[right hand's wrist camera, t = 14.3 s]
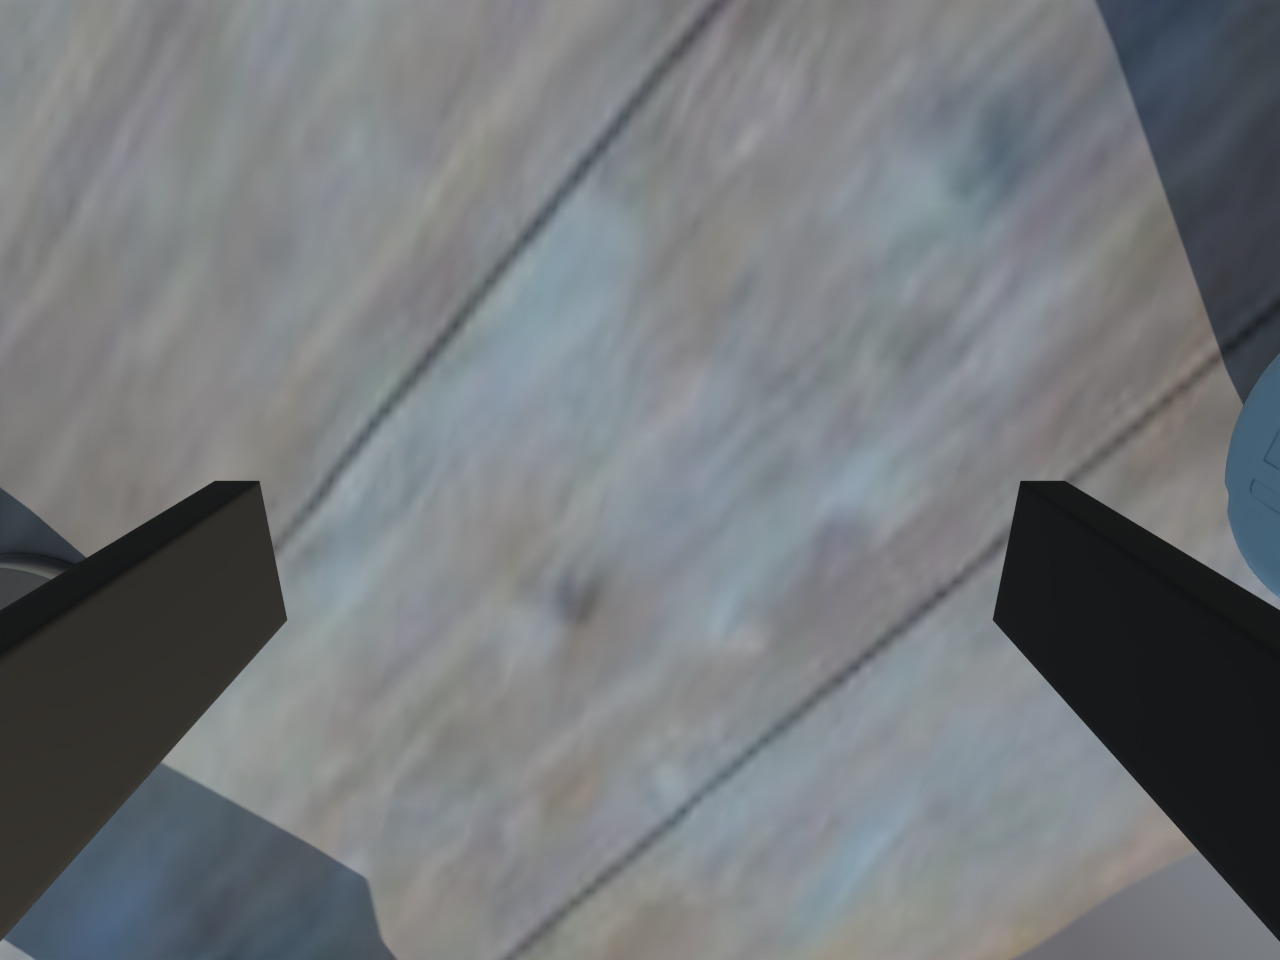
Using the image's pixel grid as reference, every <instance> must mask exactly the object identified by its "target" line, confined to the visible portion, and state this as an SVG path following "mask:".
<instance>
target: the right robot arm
mask: <svg viewBox="0 0 1280 960" xmlns="http://www.w3.org/2000/svg"><path fill="white" fill-rule="evenodd" d="M286 621H287V616H286V611H285V606H284V601H283V596H282V591H281V586H280V581H279V576H278V571H277V566H276V561H275V556H274V551H273V546H272V541H271V536H270V531H269V526H268V521H267V516H266V511H265V506H264V501H263V496H262V491H261V486H260V481H214V482H212V483H211V484H209V485H207V486H206V487H204V488H202V489H201V490H199V491H197V492H196V493H194V494H192V495H191V496H189V497H187V498H186V499H184V500H182V501H181V502H179V503H178V504H176V505H174V506H173V507H171V508H169V509H168V510H166V511H164V512H163V513H161V514H159V515H158V516H156V517H154V518H153V519H151V520H149V521H148V522H146V523H144V524H143V525H141V526H139V527H138V528H136V529H134V530H133V531H131V532H129V533H128V534H126V535H124V536H123V537H121V538H119V539H118V540H116V541H114V542H113V543H111V544H109V545H108V546H106V547H104V548H103V549H101V550H99V551H98V552H96V553H95V554H93V555H91V556H90V557H88V558H86V559H85V560H83V561H81V562H80V563H78V564H76V565H75V566H74V565H72V564H69V563H66V562H63V561H60V560H57V559H53V558H49V557H45V556H39V555H33V554H23V553H5V554H0V941H1V940H2V939H3V938H4V937H5V936H6V934H7V933H8V932H9V931H10V930H11V929H12V928H13V927H14V926H15V924H16V923H17V922H18V921H19V920H20V919H21V918H22V917H23V915H24V914H25V913H26V912H27V911H28V910H29V909H30V908H31V906H32V905H33V904H34V903H35V902H36V901H37V900H38V899H39V898H40V896H41V895H42V894H43V893H44V892H45V891H46V890H47V889H48V887H49V886H50V885H51V884H52V883H53V882H54V881H55V880H56V878H57V877H58V876H59V875H60V874H61V873H62V872H63V871H64V870H65V868H66V867H67V866H68V865H69V864H70V863H71V862H72V861H73V859H74V858H75V857H76V856H77V855H78V854H79V853H80V852H81V850H82V849H83V848H84V847H85V846H86V845H87V844H88V843H89V842H90V840H91V839H92V838H93V837H94V836H95V835H96V834H97V833H98V831H99V830H100V829H101V828H102V827H103V826H104V825H105V824H106V822H107V821H108V820H109V819H110V818H111V817H112V816H113V815H114V814H115V812H116V811H117V810H118V809H119V808H120V807H121V806H122V805H123V803H124V802H125V801H126V800H127V799H128V798H129V797H130V796H131V794H132V793H133V792H134V791H135V790H136V789H137V788H138V787H139V785H140V784H141V783H142V782H143V781H144V780H145V779H146V778H147V777H148V775H149V774H150V773H151V772H152V771H153V770H154V769H155V768H156V766H157V765H158V764H159V763H160V762H161V761H162V760H163V759H164V757H165V756H166V755H167V754H168V753H169V752H170V751H171V750H172V749H173V747H174V746H175V745H176V744H177V743H178V742H179V741H180V740H181V738H182V737H183V736H184V735H185V734H186V733H187V732H188V731H189V729H190V728H191V727H192V726H193V725H194V724H195V723H196V722H197V721H198V719H199V718H200V717H201V716H202V715H203V714H204V713H205V712H206V710H207V709H208V708H209V707H210V706H211V705H212V704H213V703H214V701H215V700H216V699H217V698H218V697H219V696H220V695H221V694H222V693H223V691H224V690H225V689H226V688H227V687H228V686H229V685H230V684H231V682H232V681H233V680H234V679H235V678H236V677H237V676H238V675H239V673H240V672H241V671H242V670H243V669H244V668H245V667H246V666H247V665H248V663H249V662H250V661H251V660H252V659H253V658H254V657H255V656H256V654H257V653H258V652H259V651H260V650H261V649H262V648H263V647H264V645H265V644H266V643H267V642H268V641H269V640H270V639H271V638H272V637H273V635H274V634H275V633H276V632H277V631H278V630H279V629H280V628H281V626H282V625H283V624H284V623H285V622H286ZM993 621H994V622H995V623H996V624H997V625H998V626H999V628H1000V629H1001V630H1002V631H1003V632H1004V633H1005V634H1006V635H1007V637H1008V638H1009V639H1010V640H1011V641H1012V642H1013V643H1014V644H1015V645H1016V647H1017V648H1018V649H1019V650H1020V651H1021V652H1022V653H1023V654H1024V656H1025V657H1026V658H1027V659H1028V660H1029V661H1030V662H1031V663H1032V665H1033V666H1034V667H1035V668H1036V669H1037V670H1038V671H1039V672H1040V673H1041V675H1042V676H1043V677H1044V678H1045V679H1046V680H1047V681H1048V682H1049V684H1050V685H1051V686H1052V687H1053V688H1054V689H1055V690H1056V691H1057V693H1058V694H1059V695H1060V696H1061V697H1062V698H1063V699H1064V700H1065V701H1066V703H1067V704H1068V705H1069V706H1070V707H1071V708H1072V709H1073V710H1074V712H1075V713H1076V714H1077V715H1078V716H1079V717H1080V718H1081V719H1082V721H1083V722H1084V723H1085V724H1086V725H1087V726H1088V727H1089V728H1090V729H1091V731H1092V732H1093V733H1094V734H1095V735H1096V736H1097V737H1098V738H1099V740H1100V741H1101V742H1102V743H1103V744H1104V745H1105V746H1106V747H1107V749H1108V750H1109V751H1110V752H1111V753H1112V754H1113V755H1114V756H1115V757H1116V759H1117V760H1118V761H1119V762H1120V763H1121V764H1122V765H1123V766H1124V768H1125V769H1126V770H1127V771H1128V772H1129V773H1130V774H1131V775H1132V777H1133V778H1134V779H1135V780H1136V781H1137V782H1138V783H1139V784H1140V785H1141V787H1142V788H1143V789H1144V790H1145V791H1146V792H1147V793H1148V794H1149V796H1150V797H1151V798H1152V799H1153V800H1154V801H1155V802H1156V803H1157V805H1158V806H1159V807H1160V808H1161V809H1162V810H1163V811H1164V812H1165V814H1166V815H1167V816H1168V817H1169V818H1170V819H1171V820H1172V821H1173V822H1174V824H1175V825H1176V826H1177V827H1178V828H1179V829H1180V830H1181V831H1182V833H1183V834H1184V835H1185V836H1186V837H1187V838H1188V839H1189V840H1190V842H1191V843H1192V844H1193V845H1194V846H1195V847H1196V848H1197V849H1198V850H1199V852H1200V853H1201V854H1202V855H1203V856H1204V857H1205V858H1206V859H1207V860H1208V862H1209V863H1210V864H1211V865H1212V866H1213V867H1214V868H1215V870H1216V871H1217V872H1218V873H1219V874H1220V875H1221V876H1222V877H1223V878H1224V880H1225V881H1226V882H1227V883H1228V884H1229V885H1230V886H1231V887H1232V889H1233V890H1234V891H1235V892H1236V893H1237V894H1238V895H1239V896H1240V898H1241V899H1242V900H1243V901H1244V902H1245V903H1246V904H1247V905H1248V906H1249V908H1250V909H1251V910H1252V911H1253V912H1254V913H1255V914H1256V915H1257V917H1258V918H1259V919H1260V920H1261V921H1262V922H1263V923H1264V924H1265V925H1266V927H1267V928H1268V929H1269V930H1270V931H1271V932H1272V933H1273V934H1274V936H1275V937H1276V938H1277V939H1278V940H1279V941H1280V610H1278V609H1277V608H1275V607H1273V606H1272V605H1270V604H1268V603H1267V602H1265V601H1264V600H1262V599H1260V598H1259V597H1257V596H1255V595H1254V594H1252V593H1250V592H1249V591H1247V590H1245V589H1244V588H1242V587H1240V586H1239V585H1237V584H1235V583H1234V582H1232V581H1230V580H1229V579H1227V578H1225V577H1224V576H1222V575H1220V574H1219V573H1217V572H1215V571H1214V570H1212V569H1210V568H1209V567H1207V566H1205V565H1204V564H1202V563H1200V562H1199V561H1197V560H1195V559H1194V558H1192V557H1190V556H1189V555H1187V554H1185V553H1184V552H1182V551H1181V550H1179V549H1177V548H1176V547H1174V546H1172V545H1171V544H1169V543H1167V542H1166V541H1164V540H1162V539H1161V538H1159V537H1157V536H1156V535H1154V534H1152V533H1151V532H1149V531H1147V530H1146V529H1144V528H1142V527H1141V526H1139V525H1137V524H1136V523H1134V522H1132V521H1131V520H1129V519H1127V518H1126V517H1124V516H1122V515H1121V514H1119V513H1117V512H1116V511H1114V510H1112V509H1111V508H1109V507H1107V506H1106V505H1104V504H1102V503H1101V502H1099V501H1098V500H1096V499H1094V498H1093V497H1091V496H1089V495H1088V494H1086V493H1084V492H1083V491H1081V490H1079V489H1078V488H1076V487H1074V486H1073V485H1071V484H1069V483H1068V482H1066V481H1020V486H1019V491H1018V496H1017V501H1016V506H1015V511H1014V516H1013V521H1012V526H1011V531H1010V536H1009V541H1008V546H1007V551H1006V556H1005V561H1004V566H1003V571H1002V576H1001V581H1000V586H999V591H998V596H997V601H996V606H995V611H994V616H993Z"/></svg>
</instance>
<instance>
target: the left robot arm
mask: <svg viewBox="0 0 1280 960" xmlns="http://www.w3.org/2000/svg"><path fill="white" fill-rule="evenodd" d="M1225 485H1226V487H1227V489H1228V494H1229V502H1228V518H1229V522H1230V526H1231V529H1232V532H1233V535H1234V538H1235V541H1236V543H1237V546H1238V548H1239V550H1240V552H1241V554H1242V556H1243V557H1244V559H1245V561H1246V562H1247V564H1248V566H1249V567H1250V568H1251V570H1252V571H1253V572H1254V574H1255V575H1256V576H1257V577H1258V578H1259V580H1260V581H1261V582H1262V583H1263V584H1264V585H1265V586H1266V587H1267V588H1268V589H1269V590H1270V591H1271V592H1272V593H1274V594H1275V595H1276V596H1277V597H1278V598H1280V353H1279V354H1278V355H1277V356H1276V357H1275V359H1274V360H1273V361H1272V362H1271V363H1270V364H1269V366H1268V367H1267V368H1266V370H1265V371H1264V372H1263V374H1262V375H1261V376H1260V378H1259V379H1258V381H1257V382H1256V384H1255V386H1254V387H1253V389H1252V391H1251V392H1250V394H1249V396H1248V398H1247V400H1246V402H1245V404H1244V406H1243V408H1242V410H1241V412H1240V415H1239V417H1238V420H1237V422H1236V425H1235V428H1234V431H1233V434H1232V438H1231V442H1230V446H1229V452H1228V457H1227V462H1226V471H1225Z"/></svg>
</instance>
